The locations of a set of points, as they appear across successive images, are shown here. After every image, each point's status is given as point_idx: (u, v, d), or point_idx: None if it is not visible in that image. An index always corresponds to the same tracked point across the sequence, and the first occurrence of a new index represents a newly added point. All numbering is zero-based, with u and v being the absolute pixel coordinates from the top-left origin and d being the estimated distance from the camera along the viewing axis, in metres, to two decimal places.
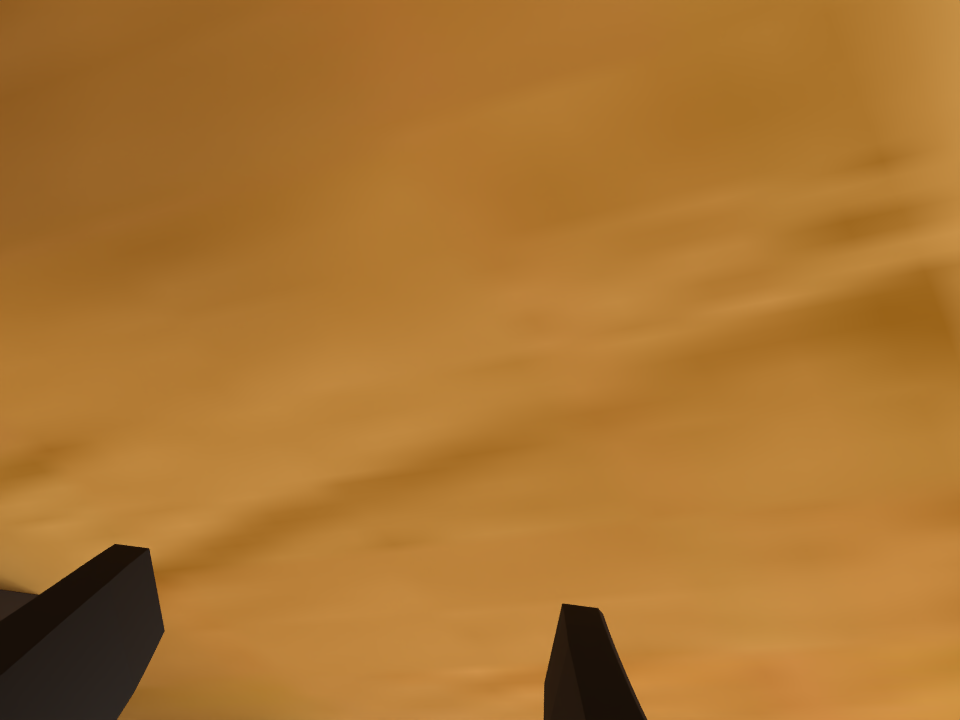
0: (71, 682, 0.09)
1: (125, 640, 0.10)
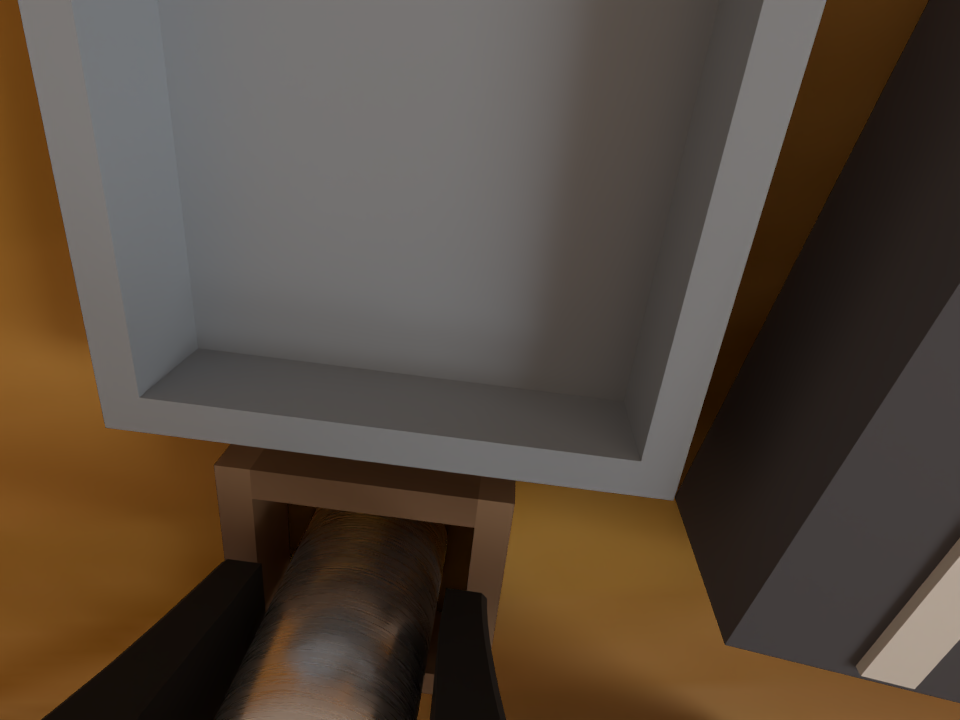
0: (203, 700, 0.09)
1: (242, 656, 0.10)
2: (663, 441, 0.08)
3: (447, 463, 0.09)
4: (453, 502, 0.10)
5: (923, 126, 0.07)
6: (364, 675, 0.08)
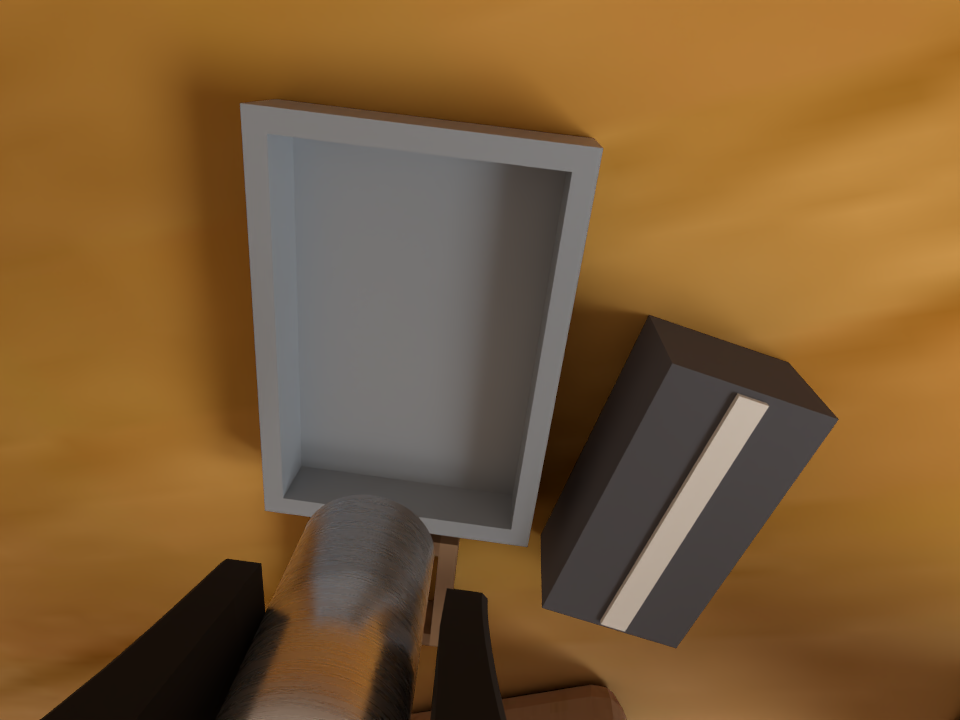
0: (202, 700, 0.09)
1: (241, 656, 0.10)
2: (520, 521, 0.19)
3: None
4: None
5: (625, 394, 0.17)
6: (362, 671, 0.09)
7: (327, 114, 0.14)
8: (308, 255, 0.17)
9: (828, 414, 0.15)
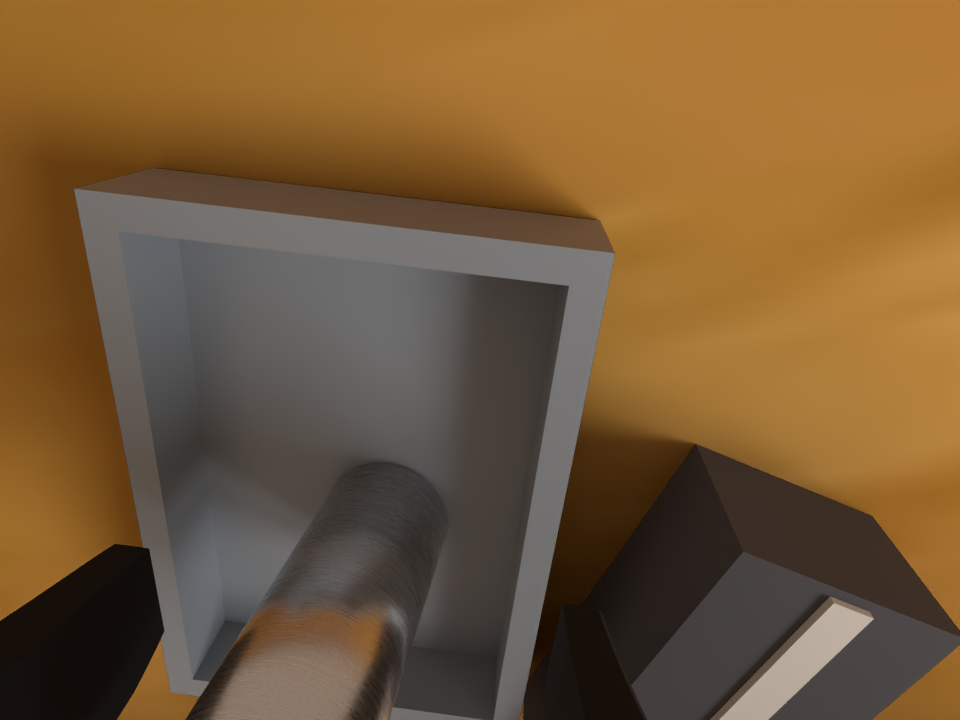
0: (71, 682, 0.09)
1: (125, 640, 0.10)
2: (504, 712, 0.14)
3: None
4: None
5: (658, 553, 0.13)
6: (359, 619, 0.10)
7: (203, 204, 0.09)
8: (211, 373, 0.13)
9: (951, 630, 0.11)
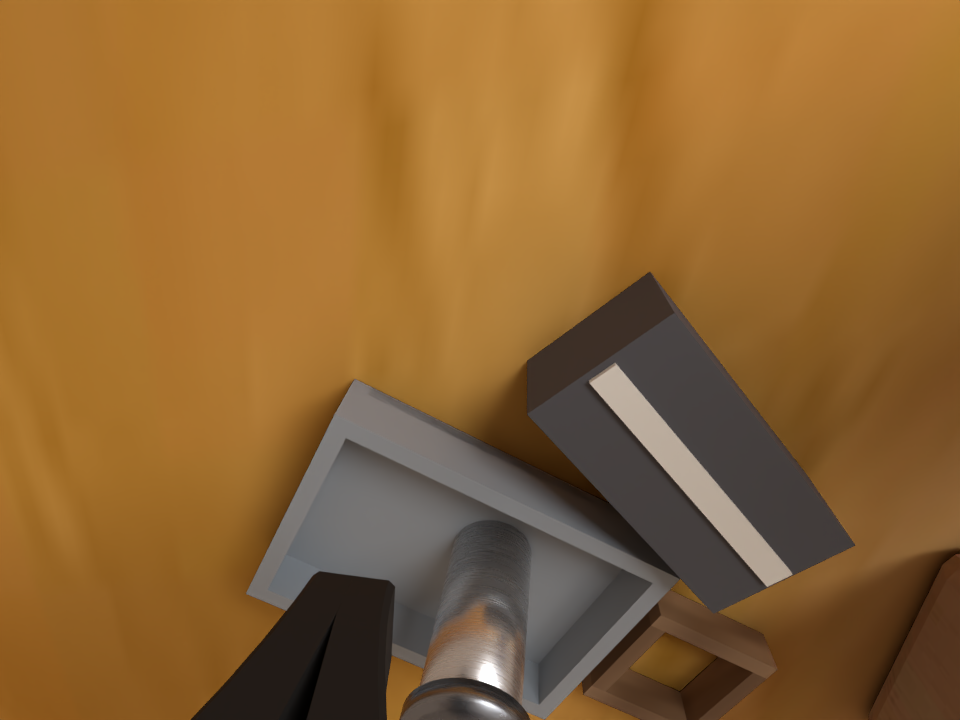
0: None
1: None
2: (647, 574, 0.19)
3: (617, 638, 0.20)
4: (647, 633, 0.21)
5: None
6: (453, 612, 0.17)
7: (265, 555, 0.20)
8: None
9: (665, 316, 0.14)
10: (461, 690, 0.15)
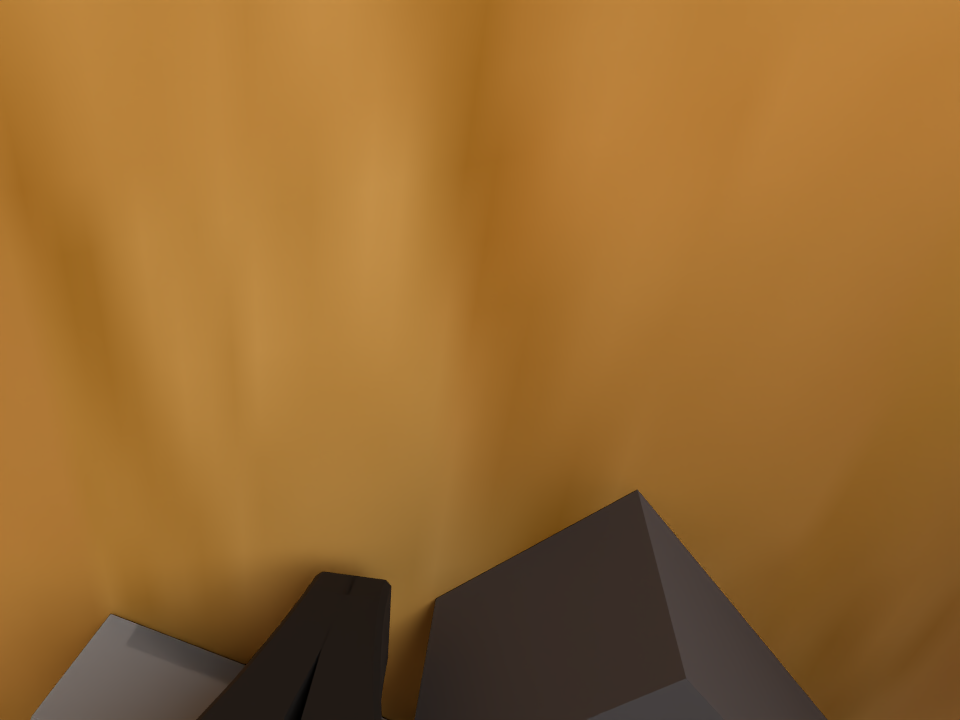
0: None
1: None
2: None
3: None
4: None
5: None
6: None
7: None
8: None
9: (667, 677, 0.07)
10: None
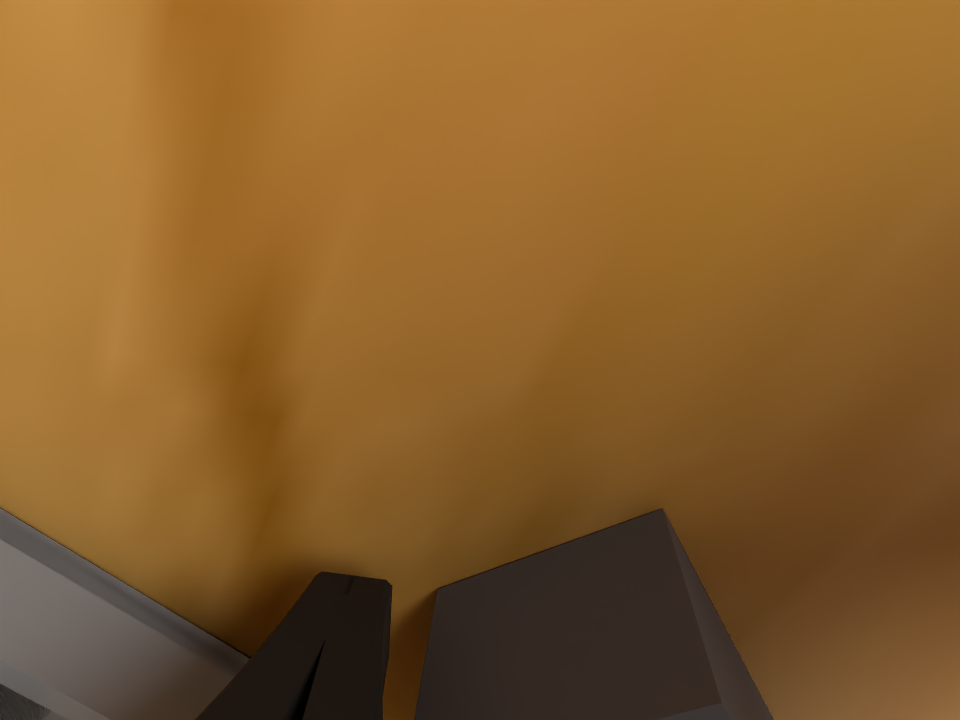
0: None
1: None
2: None
3: None
4: None
5: None
6: None
7: None
8: None
9: (700, 699, 0.07)
10: None
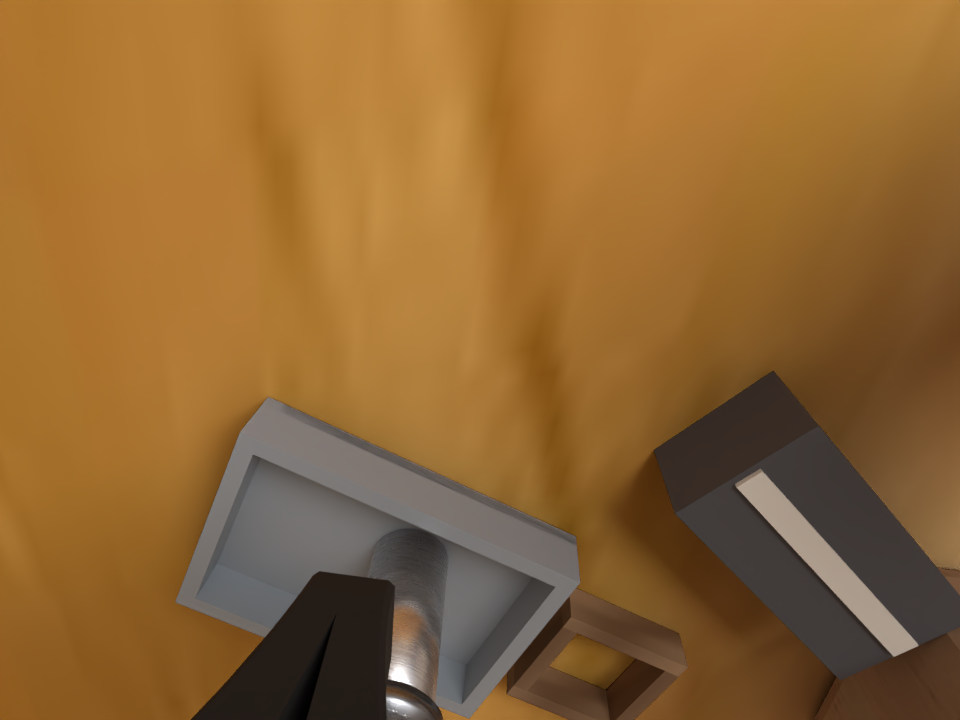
0: None
1: None
2: (549, 578, 0.20)
3: (528, 640, 0.21)
4: (561, 634, 0.22)
5: None
6: None
7: (189, 565, 0.21)
8: None
9: (808, 428, 0.16)
10: (394, 692, 0.15)
